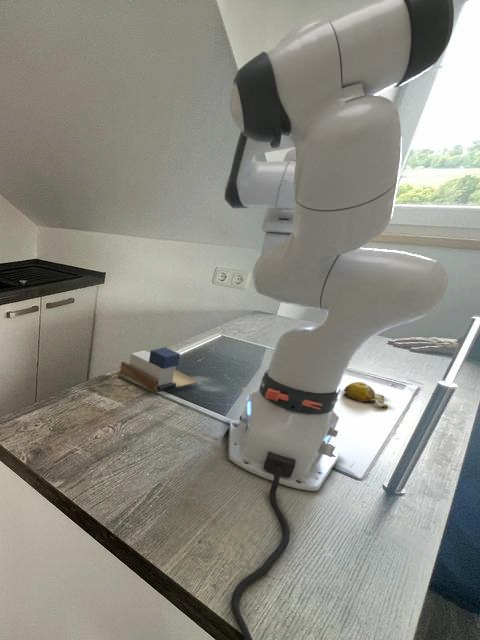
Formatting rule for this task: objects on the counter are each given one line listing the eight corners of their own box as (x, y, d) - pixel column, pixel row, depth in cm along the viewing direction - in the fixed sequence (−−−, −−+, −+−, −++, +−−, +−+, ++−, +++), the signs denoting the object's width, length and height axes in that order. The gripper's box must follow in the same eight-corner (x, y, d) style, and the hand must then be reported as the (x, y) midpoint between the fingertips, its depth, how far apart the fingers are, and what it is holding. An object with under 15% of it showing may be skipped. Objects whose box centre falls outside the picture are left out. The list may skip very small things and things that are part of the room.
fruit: (389, 410, 92) (395, 396, 90) (344, 400, 96) (349, 387, 94) (382, 396, 98) (388, 383, 96) (340, 387, 102) (345, 375, 101)
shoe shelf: (162, 366, 114) (164, 353, 112) (198, 385, 103) (201, 371, 101) (119, 375, 108) (121, 361, 107) (152, 396, 97) (155, 381, 96)
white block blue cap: (175, 387, 99) (182, 354, 96) (159, 391, 97) (165, 358, 94) (141, 369, 109) (146, 338, 106) (126, 372, 107) (130, 341, 103)
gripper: (273, 222, 103) (257, 274, 109) (264, 223, 88) (246, 284, 94) (301, 224, 100) (284, 277, 105) (297, 225, 85) (277, 288, 90)
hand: (266, 280), depth 99 cm, fingers closed
